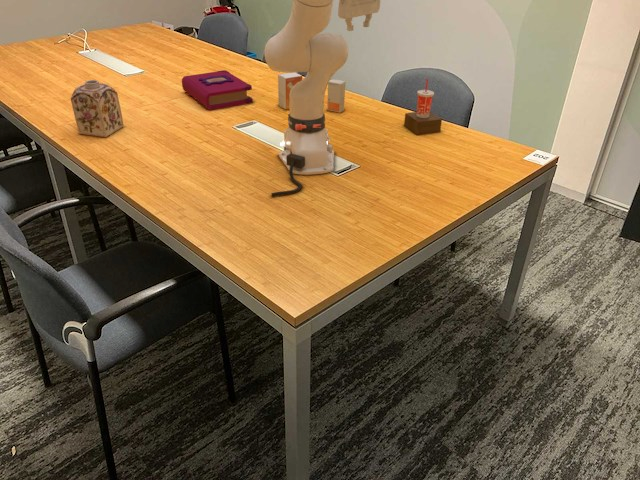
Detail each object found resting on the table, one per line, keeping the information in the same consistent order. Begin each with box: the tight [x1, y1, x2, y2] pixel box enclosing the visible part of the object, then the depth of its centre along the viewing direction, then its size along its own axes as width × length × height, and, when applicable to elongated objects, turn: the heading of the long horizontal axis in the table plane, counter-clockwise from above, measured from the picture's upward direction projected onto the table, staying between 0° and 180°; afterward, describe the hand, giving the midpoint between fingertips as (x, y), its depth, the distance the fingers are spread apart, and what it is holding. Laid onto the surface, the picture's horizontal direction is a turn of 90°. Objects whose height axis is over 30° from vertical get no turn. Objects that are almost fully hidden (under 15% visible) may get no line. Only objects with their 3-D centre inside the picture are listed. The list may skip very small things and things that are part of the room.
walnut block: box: [403, 111, 443, 136], centre depth 199 cm, size 10×10×5 cm
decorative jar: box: [70, 79, 125, 138], centre depth 189 cm, size 12×12×18 cm
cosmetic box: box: [326, 78, 347, 114], centre depth 213 cm, size 6×4×12 cm
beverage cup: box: [416, 78, 435, 118], centre depth 194 cm, size 6×6×14 cm
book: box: [181, 69, 254, 111], centre depth 225 cm, size 21×28×8 cm
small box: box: [277, 72, 303, 110], centre depth 216 cm, size 8×6×13 cm
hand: (358, 28), depth 193 cm, fingers open, 8 cm apart
